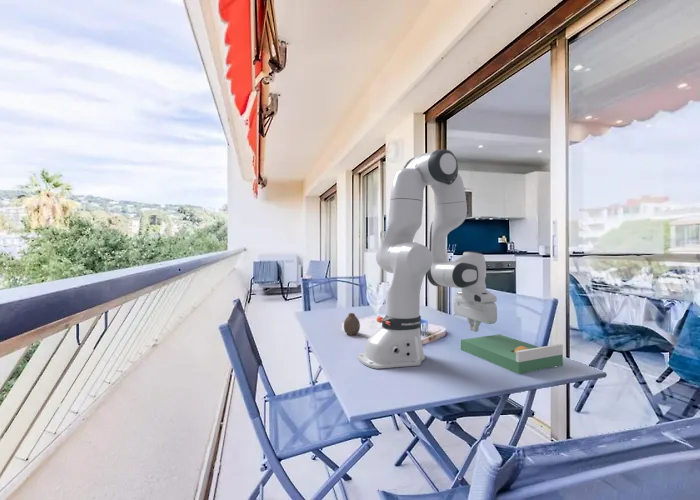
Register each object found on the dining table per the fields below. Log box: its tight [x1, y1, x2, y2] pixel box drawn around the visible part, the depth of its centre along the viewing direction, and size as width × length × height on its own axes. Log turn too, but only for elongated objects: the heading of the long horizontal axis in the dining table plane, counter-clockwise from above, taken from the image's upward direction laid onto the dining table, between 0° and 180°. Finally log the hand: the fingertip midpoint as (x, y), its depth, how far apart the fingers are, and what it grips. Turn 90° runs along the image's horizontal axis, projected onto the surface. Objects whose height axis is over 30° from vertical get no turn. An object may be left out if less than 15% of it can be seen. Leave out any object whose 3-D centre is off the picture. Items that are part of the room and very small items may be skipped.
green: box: [460, 334, 564, 375], centre depth 120 cm, size 18×26×6 cm
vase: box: [343, 312, 361, 336], centre depth 152 cm, size 7×7×9 cm
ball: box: [514, 346, 528, 353], centre depth 114 cm, size 5×5×5 cm
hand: (473, 330), depth 135 cm, fingers closed
